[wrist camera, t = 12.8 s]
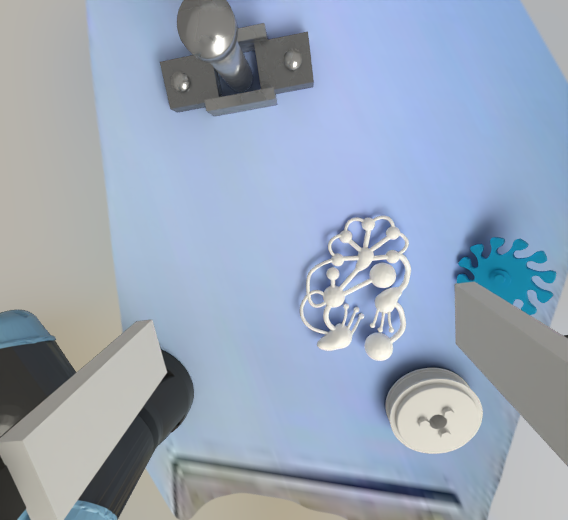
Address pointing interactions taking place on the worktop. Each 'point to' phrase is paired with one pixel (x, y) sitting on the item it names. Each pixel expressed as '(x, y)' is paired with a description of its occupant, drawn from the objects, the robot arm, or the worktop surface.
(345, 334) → the tangled rod sculpture
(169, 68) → the bolted rod clamp
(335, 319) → the worktop surface
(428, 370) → the lid
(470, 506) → the worktop surface
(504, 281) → the gear
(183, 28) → the pin
